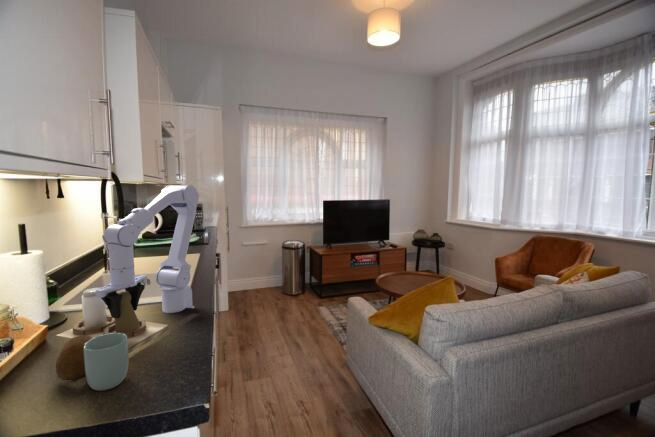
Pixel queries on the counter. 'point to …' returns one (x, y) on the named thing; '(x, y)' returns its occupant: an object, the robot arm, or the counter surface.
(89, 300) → the salt shaker
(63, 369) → the potato
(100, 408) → the counter surface
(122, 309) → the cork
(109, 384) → the cup
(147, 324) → the cruet stand
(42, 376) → the counter surface
